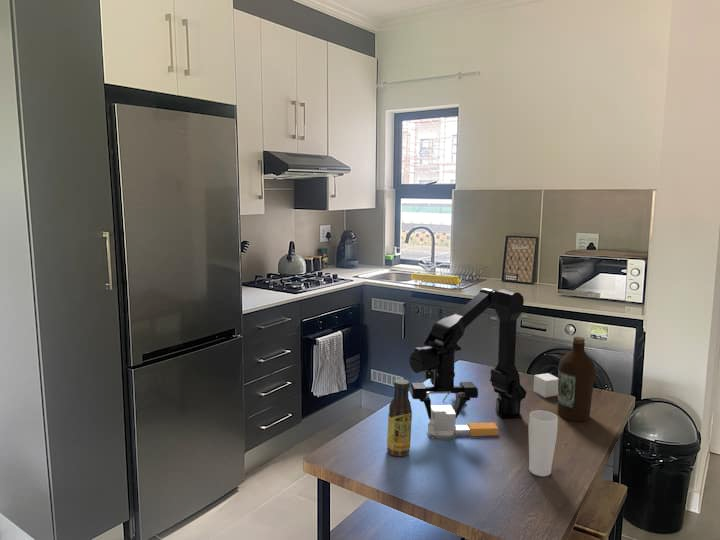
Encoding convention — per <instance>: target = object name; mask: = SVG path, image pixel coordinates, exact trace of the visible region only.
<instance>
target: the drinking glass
mask: <svg viewBox="0 0 720 540" xmlns="http://www.w3.org/2000/svg"><path fill="white" fill-rule="evenodd" d="M558 419H559V417H558V416H557V415H556V413H553V412H550V411H548V410H543V409H542V410H541V409H539V410H532V411H530V413H529V417H528V458H529V459H528V461H529V462H528V470H529V471H530V473H531V474H533V475H534V476H536V477H537V476H538V477H543V478H544V477H548V476H550V475H551V473H552V469H553V468H552V467H553V460H554V455H555V448H556V441H557V436H558V427H559V426H558V424H559V423H558V421H559V420H558Z"/></svg>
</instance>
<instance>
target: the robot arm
mask: <svg viewBox="0 0 720 540" xmlns="http://www.w3.org/2000/svg"><path fill="white" fill-rule="evenodd" d="M524 298H525V297H524V296H523V295H522V293H520V292H517V291H514V290H508V289H503V288H502V289H499V290H495V289H492V288H488V287H484V288H481V289H480V291H479V292H478V293H477V294H476V295H475V296H474V297H473V298H472V299H470V300H469V301H468V302H467V303H466V304H465V305H463V307H461V308H459V310H458V311H456V312H455V313H454V314H452V315H450V316H445V317H443V318H441V319H440V320H438V321H436V322H435V323H434V324H433V326H432V327H431V328H432V329H431V330H430V332H429V334H428V336H427V337H426V339H425V340H424V342H423V346H422V347H419V346H417V347H415V348H414V351H412V353H411V354H410V357H409V365H410V369H411V370H412V371H413V372H414V373H415V374H419V373H423V377H424V379H425V380H430V383H431V386H426V385H425V383H424V382H412V383H410V384H409V393H410V396H411V397H412V399H413V400H419V402H423V403H424V406H425V411H426V414H427V417H428V419H429V420H430V419H431V406H432V402H431V401H432V400H431V398H430V396H429V395H430V394H432V395H434V394H435V395H436V394H448V393H450V394H454V393H455V401H454V408H453V410H454V411H455V413H456V419H458V416H459V414H460V413H461V410H462V409H463V407H464V406H465V405H466V404H467V402H469V401H471V399H477V398H478V397H479V388H478V387H477V386H476V385H475V383H474V382H472V381H460V382H459V385H458V386H457V385H455V376H456V372H455V365H456V364H455V363H456V361H455V360H456V352H457V351H461V350H462V347H461V346H459V345H458V342H459V341H460V339H462V338H463V336H464V334H465V330H466V329H467V327H468V326H469V325H470V324H472V323H473V322H474V321H475V320H476V319H478V317H479V316H481V315H482V314H483V313H484V312H485V311H487V309H488V308H490V307H491V306H492V305H493V304H494V310H495V312H496V315H497V317H498V319H499V327H498V355H497V364H496V365H495V368H493V369H492V368H491V369H490V380H489V382H490V383H491V386H492V388H493V391H494V393H496V394H497V398H496V400H495V408H494V409H495V412H497V414H498V416H499V417H500V418H502V419H515V418H517V419H519V418H520V419H521V418H523V416H522V414H521V401H523V399H525V398H526V397H527V392H528V391H527V390H526V389H525V388H524V387H523V386H522V385H521V378H520V373H519V372H518V369H517V367H516V365H515V364H516V346H517V345H516V341H517V339H516V338H517V320H518V319H519V317H520V316H521V314H522V312H523V308H524V302H525V300H524ZM432 385H433V386H432Z"/></svg>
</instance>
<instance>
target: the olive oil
mask: <svg viewBox="0 0 720 540" xmlns="http://www.w3.org/2000/svg"><path fill="white" fill-rule="evenodd" d="M585 340H586V339H585V338H584V337H581V336H574V337H573V342H572V348H571V350H570V351H569V352H567V353H566V354H565V355H563V357H562V358H560V361H559V363H558V368H557V371H558V372H557V373H558V374H557V378H558V396H557V408H556V409H557V410H556V412H557V415H558V416H559V417H561V418H562V419H565V420H568V421H571V422H586V421H588V420H589V419H590V417H591V416H590V415H591V407H592V400H593V399H592V397H593V391H594V385H595V384H594V383H595V378H596V365H595V363H594V361H593V360H592V358H591V357H590V355H588V354H587V353H586V351H585V347H586V346H585Z"/></svg>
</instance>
